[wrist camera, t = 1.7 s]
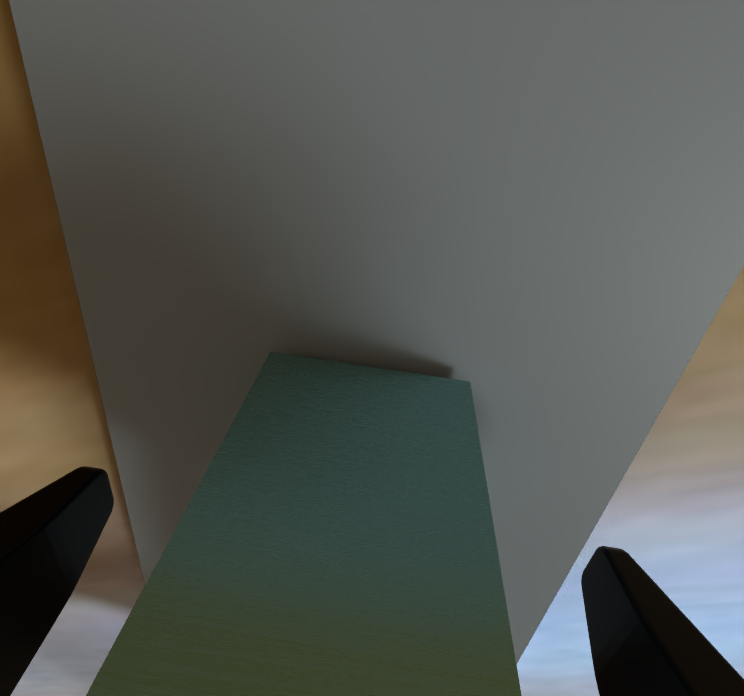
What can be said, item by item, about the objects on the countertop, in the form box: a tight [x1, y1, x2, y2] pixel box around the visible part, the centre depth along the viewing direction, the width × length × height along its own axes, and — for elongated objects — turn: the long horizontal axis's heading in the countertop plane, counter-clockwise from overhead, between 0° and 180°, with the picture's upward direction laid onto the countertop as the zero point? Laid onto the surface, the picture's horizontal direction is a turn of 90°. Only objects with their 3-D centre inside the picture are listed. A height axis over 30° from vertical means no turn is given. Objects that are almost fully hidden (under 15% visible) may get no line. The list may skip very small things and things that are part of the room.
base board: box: [9, 0, 744, 664], centre depth 11 cm, size 24×12×1 cm, turn 173°
